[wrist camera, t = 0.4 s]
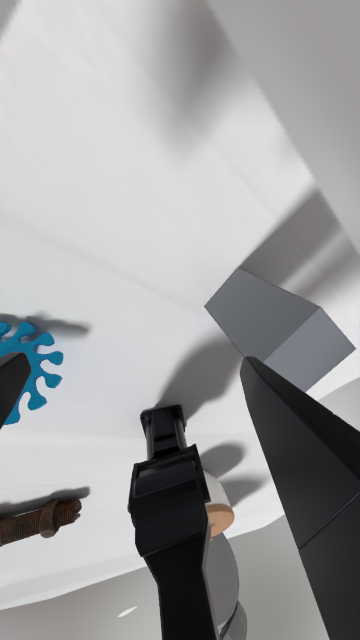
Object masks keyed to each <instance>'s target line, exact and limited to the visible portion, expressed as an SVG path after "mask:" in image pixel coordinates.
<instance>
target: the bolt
mask: <svg viewBox="0 0 360 640" xmlns="http://www.w3.org/2000/svg"><path fill="white" fill-rule="evenodd" d="M81 508H82V506H81V502H80V500H78V499H73V500H71V501H70V500H69V501H67V502H63V503H61V502H60V500H58V499H54V500H50V501H48V502H47V504H46V505H45V506H44V508H43V509H39V510H36V511H33V512H30V513H26V514H22V515H19V516H16V517H13V518H9V519H8V518H7V519H2V518H1V517H0V547H1V546H3V545H5V544H8V543H11V542H14V541H17V540H21V539H24V538H27V537H30V536H33V535H36V534H41V536H42V537H44V538H49V537H52V536H54V535H55V534H56V533H57V531H58V530H59V528H60V527H61V526H63V525H64V526H65V525H67V524H71V523H74V521H75V520H76V519H78V518H79V517H80V514H79V513H78V512H79V511H80V510H81Z"/></svg>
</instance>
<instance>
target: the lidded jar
mask: <svg viewBox="0 0 360 640" xmlns="http://www.w3.org/2000/svg"><path fill="white" fill-rule="evenodd" d="M203 472H204V476H205V479H206V483H207V487H208V491H209V494H210V498H211V502H209V503H206V507H207V511H208V515H209V519H210V523H211V536H210V541H211V540H212V537H213V536H215V535H218V534H219V533H221V532H223V531H224V530H226V529H227V528H228V527H229V526H230V525H231V524H232V523H233V521H234V513H233V510H232V508H231V506H230V503H229V500H228V497H227V495H226V493H225V491H224V489H223V487H222V485H221V484H220V482H219V481H218V480H217V479H216V478H215V477H214V476H212V475H211V474H209V473H208V472H207V471H205V470H203Z"/></svg>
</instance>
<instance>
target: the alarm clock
mask: <svg viewBox="0 0 360 640" xmlns="http://www.w3.org/2000/svg"><path fill="white" fill-rule="evenodd" d="M206 575H207V580H208V584H209V589H210V594H211V599H212V604H213V608H214V613H215V618H216V623H217V628H218V632H219V631H220V630H221V632H220V635H219V637H220V640H245V639H246V635H247V618H246V613H245V611H244V609H243V607H242V605H241V604H240V602H239V601H238V594H239V576H238V568H237V564H236V560H235V556H234V554H233V551H232V549H231V546H230V544H229V542H228V541H227V539H226V537H225V536H224V534H223V533H222V532H221V533H219V534H218V535H215V536H213V537H212V540H211V541H210V543H209V550H208V557H207V564H206Z"/></svg>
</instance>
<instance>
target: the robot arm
mask: <svg viewBox="0 0 360 640" xmlns="http://www.w3.org/2000/svg"><path fill="white" fill-rule="evenodd" d="M31 370H32V369H31V365H30V362H29V360H28V357H27V355H26V353H24V352H11V353H9V354H6V355H4V356H2V357H0V429H1V428H2V426H3V424H4V423H5V421H6V420H7V418H8V416H9V415H10V413H11V411H12V410H13V408H14V406H15V404H16V402H17V400H18V398H19V396H20V394H21V392H22V390H23V388H24V386H25V384H26V382H27V380H28V378H29V376H30V374H31ZM240 377H241V382H242V386H243V390H244V394H245V399H246V403H247V407H248V410H249V413H250V416H251V419H252V422H253V424H254V427H255V430H256V433H257V436H258V439H259V441H260V444H261V447H262V450H263V453H264V455H265V458H266V461H267V464H268V467H269V469H270V472H271V475H272V478H273V481H274V484H275V486H276V489H277V492H278V495H279V498H280V500H281V503H282V506H283V509H284V512H285V514H286V517H287V520H288V523H289V526H290V529H291V531H292V534H293V537H294V540H295V543H296V545H297V548H298V549H299V554H300V557H301V560H302V563H303V566H304V568H305V571H306V574H307V577H308V580H309V582H310V585H311V588H312V591H313V594H314V597H315V599H316V602H317V605H318V608H319V611H320V613H321V616H322V619H323V622H324V624H325V627H326V630H327V633H328V636H329V639H330V640H360V431H358V430H356V429H355V428H354V427H352V426H351V425H349V424H348V423H346V422H345V421H344V420H342V419H341V418H340V417H338V416H336V415H335V414H334V415H333V413H332V412H331V411H330V410H328V409H327V408H326V407H324V406H323V405H321V404H320V403H318V402H317V401H316V400H314V399H313V398H312V397H310V396H309V395H307V394H306V393H305V392H303V391H302V390H300V389H299V388H298V387H296V386H295V385H293V384H292V383H291V382H289V381H288V380H286V379H285V378H284V377H282V376H281V375H280V374H278V373H277V372H275V371H274V370H273V369H271V368H270V367H268V366H267V365H266V364H264V363H263V362H261V361H260V360H259V359H257V358H256V357H254V356H245V357H244V358H243V362H242V365H241V369H240ZM140 420H141V423H142V426H143V430H144V433H145V437H146V441H147V461H144V462H141V463H135V464H134V468H133V471H132V479H131V486H130V494H129V503H128V512H129V513H130V514H131V519H132V523H133V526H134V527H135V545H136V547H137V550H138V552H139V554H140V556H141V557H143V558H144V560H145V562H146V564H147V566H148V567H149V569H150V571H151V573H152V575H153V577H154V579H155V581H156V583H157V586H158V594H159V606H160V617H161V631H162V640H220V637H219V633H218V628H217V623H216V618H215V613H214V608H213V604H212V599H211V594H210V589H209V584H208V580H207V575H206V564H207V557H208V550H209V543H210V536H211V523H210V519H209V515H208V511H207V507H206V503H209V502H211V498H210V494H209V491H208V487H207V483H206V479H205V476H204V472H203V468H202V465H201V461H200V457H199V454H198V450H197V446H196V444H193V445H192V446H190V447H187V444H186V439H185V435H184V432H185V426H184V419H183V412H182V406H181V405H176V406H172V407H168V408H164V409H160V410H155V411H151V412H147V413H143V414H141V415H140Z"/></svg>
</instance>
